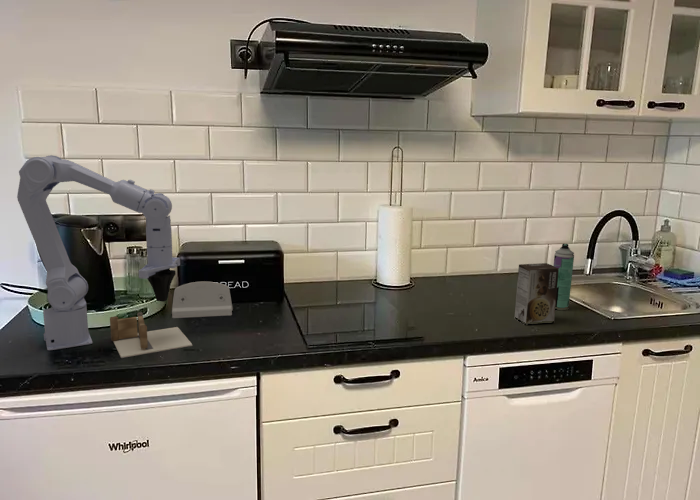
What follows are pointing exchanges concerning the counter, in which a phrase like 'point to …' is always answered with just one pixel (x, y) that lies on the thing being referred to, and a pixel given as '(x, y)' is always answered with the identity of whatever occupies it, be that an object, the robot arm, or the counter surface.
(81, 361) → the counter surface
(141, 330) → the panel
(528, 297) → the coffee box
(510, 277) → the counter surface
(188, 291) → the hinge
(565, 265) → the spray can
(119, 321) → the fence fixed
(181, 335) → the card
